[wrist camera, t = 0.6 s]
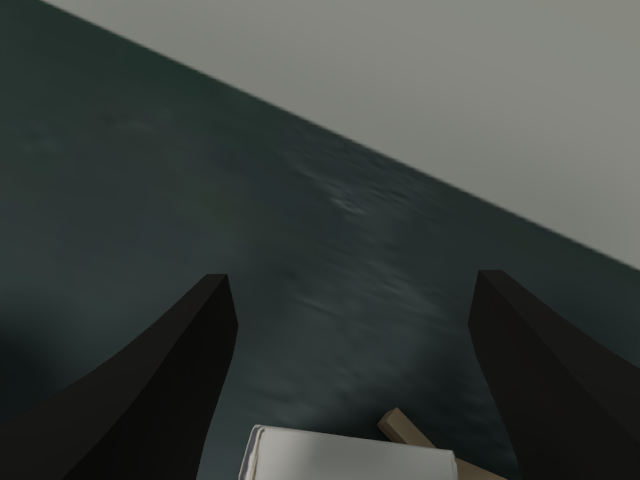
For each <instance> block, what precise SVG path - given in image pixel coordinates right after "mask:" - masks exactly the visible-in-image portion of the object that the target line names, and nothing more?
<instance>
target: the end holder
mask: <svg viewBox="0 0 640 480" xmlns="http://www.w3.org/2000/svg"><path fill="white" fill-rule="evenodd" d="M377 426H378V428H379V429H380V430H381V431H382V432H383V433H384V434H385V435H386V436H387V437H388V438H389V439H390V440H391V442H393V443H400V444H407V445H414V446H421V447H429V448H436V447H435V446H434V445H433V444H432V443H431V442H430V441H429V440H428V439H427V438H426V437H425V436H424V435H423V434H422V433H421V432H420V431H419V430H418V429H417V428H416V426H415V425H414V424H413V423H412V422H411V421H410V420H409V419H408V418H407V417H406V416H405V415H404V414H403V413H402V412H401V411H400V410H399V409H398V408H397V407H396V408H394V409H392V410H390V411H388V412H387V413H386V414H385V415H384V416H383V418H382V419H381V420H380V421H379V423H378V424H377ZM436 449H437V448H436ZM456 464H457V470H458V477H459V480H507V479H505V478H503V477H500V476H498V475H496V474H493V473H491V472H489V471H486V470H484V469H482V468H479V467H477V466H474V465H472V464H470V463H467V462H465V461H463V460H460V459H458V458H456Z"/></svg>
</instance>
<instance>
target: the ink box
mask: <svg viewBox="0 0 640 480" xmlns="http://www.w3.org/2000/svg"><path fill="white" fill-rule="evenodd" d="M238 480H459V477H458V470H457V464H456V457H455V454H454V452H453V451H451V450H444V449H436V448H429V447H421V446H414V445H407V444H400V443H393V442H385V441H377V440H369V439H362V438H354V437H347V436H340V435H333V434H326V433H318V432H311V431H304V430H296V429H288V428H280V427H272V426H264V425H255V426H254V427H253V429H252V431H251V435H250V438H249V441H248V445H247V448H246V452H245V455H244V458H243V462H242V466H241V469H240V473H239V477H238Z"/></svg>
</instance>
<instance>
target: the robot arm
mask: <svg viewBox="0 0 640 480" xmlns="http://www.w3.org/2000/svg"><path fill="white" fill-rule="evenodd" d="M468 327H469V331H470V335H471V339H472V343H473V346H474V350H475V353H476V357H477V359H478V362H479V364H480V367H481V369H482V372H483V374H484V377H485V379H486V381H487V384H488V386H489V389H490V391H491V393H492V396H493V398H494V401H495V403H496V405H497V408H498V410H499V412H500V415H501V417H502V420H503V422H504V424H505V427H506V429H507V432H508V434H509V437H510V440H511V443H512V445H513V448H514V451H515V454H516V458H517V461H518V464H519V467H520V471H521V474H522V477H523V480H640V369H639V368H637V367H636V366H634V365H632V364H631V363H629V362H627V361H626V360H624V359H622V358H621V357H619V356H617V355H616V354H614V353H613V352H611V351H610V350H608V349H607V348H605V347H604V346H602V345H601V344H599V343H598V342H596V341H595V340H593V339H592V338H590V337H589V336H588V335H586V334H585V333H583V332H582V331H580V330H579V329H577V328H576V327H575V326H573V325H572V324H571V323H569V322H568V321H566V320H565V319H564V318H562V317H561V316H560V315H558V314H557V313H556V312H555V311H553V310H552V309H551V308H549V307H548V306H547V305H545V304H544V303H543V302H542V301H540V300H539V299H538V298H537V297H535V296H534V295H533V294H532V293H530V292H529V291H528V290H526V289H525V288H524V287H523V286H521V285H520V284H519V283H518V282H516V281H515V280H514V279H513V278H511V277H510V276H509V275H507V274H506V273H505V272H503V271H502V270H479V271H478V276H477V281H476V286H475V291H474V296H473V301H472V305H471V310H470V315H469V320H468ZM237 330H238V322H237V317H236V313H235V308H234V303H233V299H232V294H231V290H230V285H229V281H228V276H227V274H207V275H206V276H204V277H203V278H202V279H201V280H200V281H199V282H198V283H197V284H196V285H195V286H194V287H193V288H192V289H190V290H189V291H188V292H187V293H186V294H185V295H184V296H183V297H182V298H181V299H180V300H179V301H178V302H177V303H176V304H175V305H173V306H172V307H171V308H170V309H169V310H168V311H167V312H166V313H165V314H164V315H163V316H162V317H160V318H159V319H158V320H157V321H156V322H155V323H153V324H152V325H151V326H150V327H149V328H148V329H146V330H145V331H144V332H143V333H142V334H140V335H139V336H138V337H137V338H136V339H134V340H133V341H132V342H131V343H130V344H128V345H127V346H126V347H125V348H123V349H122V350H121V351H119V352H118V353H117V354H116V355H114V356H113V357H112V358H110V359H109V360H107V361H106V362H105V363H103V364H102V365H100V366H99V367H98V368H96V369H95V370H93V371H92V372H90V373H89V374H87V375H86V376H84V377H83V378H81V379H80V380H78V381H77V382H75V383H73V384H72V385H70V386H69V387H67V388H65V389H64V390H62V391H61V392H59V393H58V394H56V395H54V396H53V397H51V398H50V399H48V400H46V401H45V402H43V403H41V404H40V405H38V406H36V407H34V408H33V409H31V410H29V411H27V412H26V413H24V414H22V415H20V416H18V417H17V418H15V419H13V420H11V421H9V422H7V423H5V424H4V425H2V426H0V480H196V477H197V472H198V468H199V464H200V459H201V455H202V451H203V446H204V442H205V439H206V436H207V432H208V429H209V426H210V423H211V420H212V417H213V414H214V411H215V408H216V405H217V402H218V399H219V396H220V393H221V390H222V387H223V384H224V381H225V378H226V375H227V372H228V369H229V366H230V363H231V359H232V356H233V351H234V346H235V341H236V336H237Z"/></svg>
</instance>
